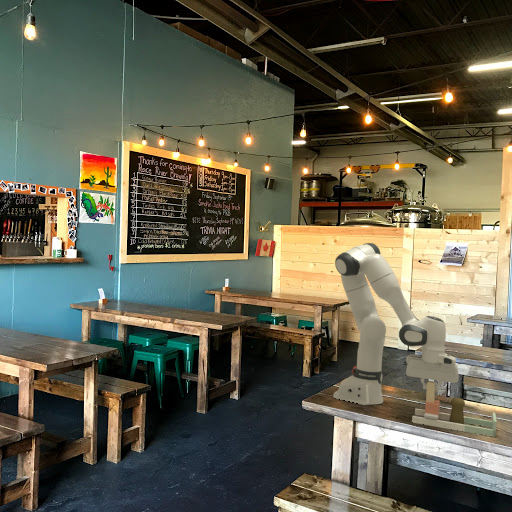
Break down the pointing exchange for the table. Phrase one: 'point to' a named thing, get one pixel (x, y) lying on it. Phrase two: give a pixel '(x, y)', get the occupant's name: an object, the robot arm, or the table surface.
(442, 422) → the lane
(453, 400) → the olive rounded upright piece
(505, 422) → the table surface
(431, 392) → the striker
